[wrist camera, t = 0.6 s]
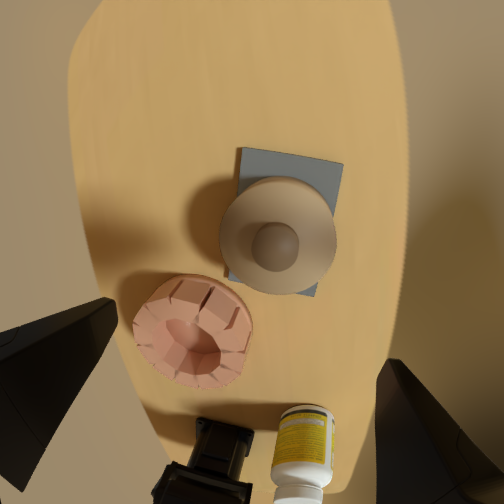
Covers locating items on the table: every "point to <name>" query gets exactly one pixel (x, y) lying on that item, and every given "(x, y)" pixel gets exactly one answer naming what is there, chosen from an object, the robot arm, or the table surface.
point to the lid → (278, 236)
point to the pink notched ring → (194, 331)
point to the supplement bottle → (303, 455)
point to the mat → (283, 164)
